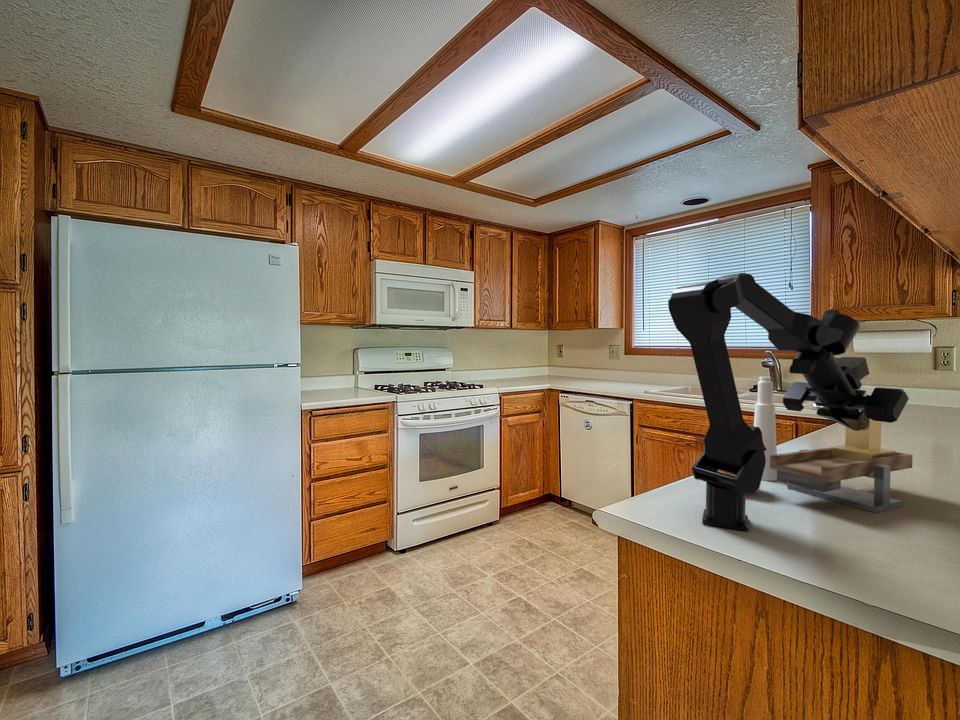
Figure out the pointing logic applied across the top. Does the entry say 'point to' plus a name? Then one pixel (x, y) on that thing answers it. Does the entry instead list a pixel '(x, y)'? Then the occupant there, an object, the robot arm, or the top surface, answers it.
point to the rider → (862, 443)
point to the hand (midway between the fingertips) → (857, 428)
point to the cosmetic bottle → (766, 424)
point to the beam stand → (861, 493)
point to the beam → (829, 468)
